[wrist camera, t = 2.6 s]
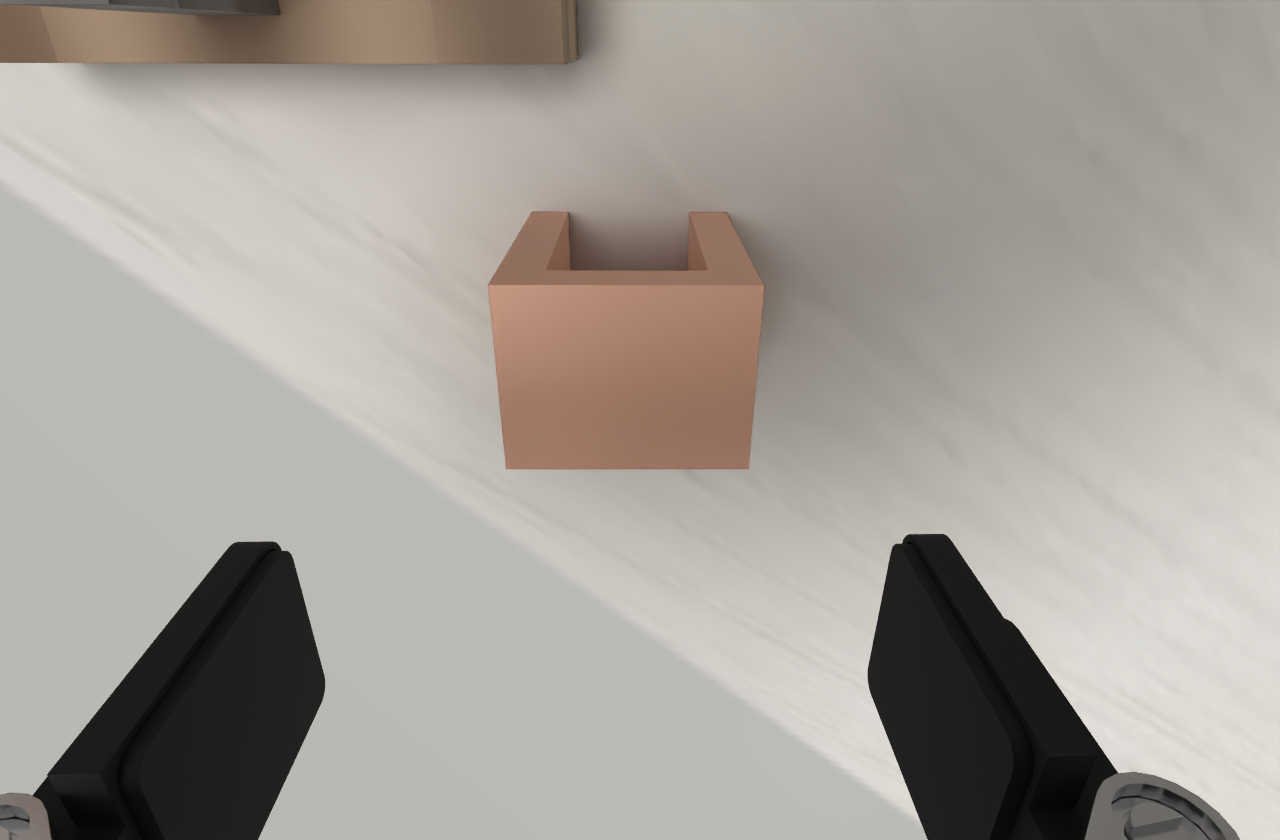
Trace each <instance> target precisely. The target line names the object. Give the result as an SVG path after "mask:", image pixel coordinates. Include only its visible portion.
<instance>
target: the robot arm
mask: <svg viewBox="0 0 1280 840" xmlns="http://www.w3.org/2000/svg"><path fill="white" fill-rule="evenodd" d="M868 684H869V689H870V693H871V696H872V698H873V701H874V703H875V706H876V708H877V711H878V713H879V716H880V719H881V721H882V724H883V726H884V729H885V731H886V734H887V736H888V739H889V742H890V744H891V747H892V749H893V752H894V754H895V757H896V760H897V762H898V765H899V767H900V770H901V772H902V775H903V777H904V780H905V783H906V785H907V788H908V790H909V793H910V795H911V798H912V801H913V803H914V806H915V808H916V811H917V813H918V816H919V818H920V821H921V824H922V826H923V829H924V831H925V834H926V836H927V839H928V840H1240V839H1239V837H1238V835H1237V833H1236V832H1235V830H1234V829H1233V828H1232V827H1231V826H1230V825H1229V824H1228V823H1227V821H1226V820H1225V819H1224V818H1223V817H1222V816H1221V815H1220V813H1219V812H1217V811H1216V810H1215V809H1214V808H1212V807H1211V806H1210V805H1209V804H1207V803H1206V802H1205V801H1204V800H1202V799H1201V798H1200V797H1199V796H1197V795H1195V794H1193V793H1192V792H1190V791H1188V790H1186V789H1185V788H1183V787H1181V786H1180V785H1178V784H1176V783H1173V782H1171V781H1168V780H1165V779H1163V778H1160V777H1157V776H1155V775H1149V774H1143V773H1137V772H1128V773H1118V772H1117V771H1116V769H1115V768H1114V767H1113V765H1112V764H1111V762H1110V761H1109V759H1108V758H1107V756H1106V755H1105V754H1104V752H1103V751H1102V749H1101V748H1100V746H1099V745H1098V743H1097V742H1096V741H1095V739H1094V738H1093V736H1092V735H1091V733H1090V732H1089V730H1088V729H1087V728H1086V726H1085V725H1084V723H1083V722H1082V720H1081V719H1080V717H1079V716H1078V715H1077V713H1076V712H1075V710H1074V709H1073V707H1072V706H1071V704H1070V703H1069V702H1068V700H1067V699H1066V697H1065V696H1064V694H1063V693H1062V691H1061V690H1060V688H1059V687H1058V686H1057V684H1056V683H1055V681H1054V680H1053V678H1052V677H1051V676H1050V674H1049V673H1048V671H1047V670H1046V668H1045V667H1044V665H1043V664H1042V662H1041V661H1040V660H1039V658H1038V657H1037V655H1036V654H1035V652H1034V651H1033V649H1032V648H1031V647H1030V645H1029V644H1028V642H1027V641H1026V639H1025V638H1024V636H1023V635H1022V634H1021V632H1020V631H1019V629H1018V628H1017V627H1016V626H1015V625H1014V624H1013V623H1012V622H1011V621H1009V620H1007V619H1004V618H1003V616H1002V615H1001V613H1000V612H999V610H998V609H997V607H996V606H995V604H994V603H993V601H992V600H991V598H990V597H989V595H988V594H987V593H986V591H985V590H984V588H983V587H982V585H981V584H980V582H979V581H978V579H977V578H976V576H975V575H974V573H973V572H972V570H971V569H970V568H969V566H968V565H967V563H966V562H965V560H964V559H963V557H962V556H961V554H960V553H959V551H958V550H957V548H956V547H955V545H954V544H953V543H952V541H951V540H950V538H949V537H948V536H947V535H944V534H909V535H907V536H906V537H905V538H904V540H903V543H902V544H895V545H894V546H893V547H892V551H891V555H890V560H889V565H888V570H887V575H886V580H885V585H884V590H883V596H882V601H881V606H880V611H879V616H878V621H877V626H876V631H875V636H874V641H873V646H872V651H871V656H870V661H869V666H868ZM324 691H325V677H324V673H323V669H322V665H321V662H320V658H319V654H318V650H317V647H316V643H315V640H314V636H313V632H312V628H311V624H310V620H309V617H308V614H307V609H306V606H305V602H304V598H303V594H302V590H301V587H300V583H299V579H298V575H297V572H296V568H295V564H294V561H293V558H292V555H291V554H290V553H289V552H288V551H282V550H281V548H280V546H279V545H278V544H277V543H276V542H236V543H234V544H232V545H231V546H230V547H229V548H228V549H227V550H226V552H225V553H224V554H223V555H222V557H221V558H220V559H219V560H218V562H217V563H216V564H215V565H214V567H213V568H212V569H211V570H210V572H209V573H208V574H207V575H206V577H205V578H204V579H203V580H202V582H201V583H200V584H199V585H198V587H197V588H196V589H195V590H194V592H193V593H192V594H191V596H190V597H189V598H188V599H187V600H186V602H185V603H184V604H183V605H182V607H181V608H180V609H179V610H178V612H177V613H176V614H175V615H174V617H173V618H172V619H171V620H170V622H169V623H168V624H167V625H166V627H165V628H164V629H163V630H162V632H161V633H160V634H159V635H158V637H157V638H156V639H155V640H154V642H153V643H152V644H151V645H150V647H149V648H148V649H147V650H146V652H145V653H144V654H143V656H142V657H141V658H140V659H139V660H138V662H137V663H136V664H135V665H134V667H133V668H132V669H131V670H130V672H129V673H128V674H127V675H126V677H125V678H124V679H123V680H122V682H121V683H120V684H119V686H118V687H117V688H116V689H115V691H114V692H113V693H112V694H111V695H110V697H109V698H108V699H107V700H106V702H105V703H104V704H103V705H102V707H101V708H100V709H99V710H98V712H97V713H96V714H95V715H94V717H93V718H92V719H91V720H90V722H89V723H88V724H87V725H86V727H85V728H84V729H83V730H82V732H81V733H80V734H79V735H78V737H77V738H76V739H75V740H74V742H73V743H72V744H71V745H70V747H69V748H68V749H67V750H66V752H65V753H64V754H63V755H62V757H61V758H60V759H59V760H58V762H57V763H56V764H55V765H54V767H53V768H52V769H51V770H50V772H49V773H48V774H47V775H48V777H47V778H46V779H45V780H44V782H43V783H42V784H41V786H40V787H39V788H38V789H37V791H36V792H35V793H34V794H33V796H32V795H30V794H22V793H7V794H1V795H0V840H258V838H259V836H260V834H261V832H262V830H263V827H264V825H265V823H266V821H267V819H268V817H269V814H270V812H271V810H272V808H273V806H274V804H275V802H276V800H277V797H278V795H279V793H280V791H281V789H282V787H283V784H284V782H285V780H286V778H287V776H288V774H289V772H290V769H291V767H292V765H293V763H294V761H295V759H296V756H297V754H298V752H299V750H300V748H301V746H302V744H303V741H304V739H305V737H306V735H307V733H308V731H309V728H310V726H311V724H312V722H313V720H314V718H315V716H316V713H317V711H318V709H319V707H320V705H321V702H322V700H323V696H324Z"/></svg>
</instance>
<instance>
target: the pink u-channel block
mask: <svg viewBox="0 0 1280 840" xmlns="http://www.w3.org/2000/svg"><path fill="white" fill-rule="evenodd" d="M488 290H489V300H490V310H491V321H492V331H493V341H494V351H495V361H496V371H497V381H498V391H499V402H500V412H501V422H502V432H503V442H504V452H505V462H506V469H749V458H750V446H751V435H752V423H753V412H754V400H755V388H756V377H757V365H758V354H759V342H760V330H761V319H762V307H763V296H764V284H763V282H762V280H761V278H760V276H759V274H758V272H757V270H756V268H755V267H754V265H753V263H752V261H751V259H750V257H749V255H748V253H747V251H746V249H745V247H744V246H743V244H742V242H741V240H740V238H739V236H738V234H737V232H736V230H735V228H734V227H733V225H732V223H731V221H730V219H729V217H728V215H727V213H726V212H690V216H689V244H688V271H602V270H571V262H570V239H569V215H568V212H531V214H530V216H529V218H528V219H527V221H526V223H525V224H524V226H523V228H522V229H521V231H520V233H519V234H518V236H517V238H516V239H515V241H514V243H513V244H512V246H511V248H510V249H509V251H508V253H507V254H506V256H505V258H504V259H503V261H502V263H501V264H500V266H499V268H498V269H497V271H496V273H495V274H494V276H493V278H492V279H491V281H490V283H489V284H488Z"/></svg>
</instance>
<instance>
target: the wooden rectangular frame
mask: <svg viewBox="0 0 1280 840" xmlns="http://www.w3.org/2000/svg"><path fill="white" fill-rule="evenodd" d="M575 60H578V32H577V2H576V0H0V63H279V64H566V63H569V62H572V61H575Z"/></svg>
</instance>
